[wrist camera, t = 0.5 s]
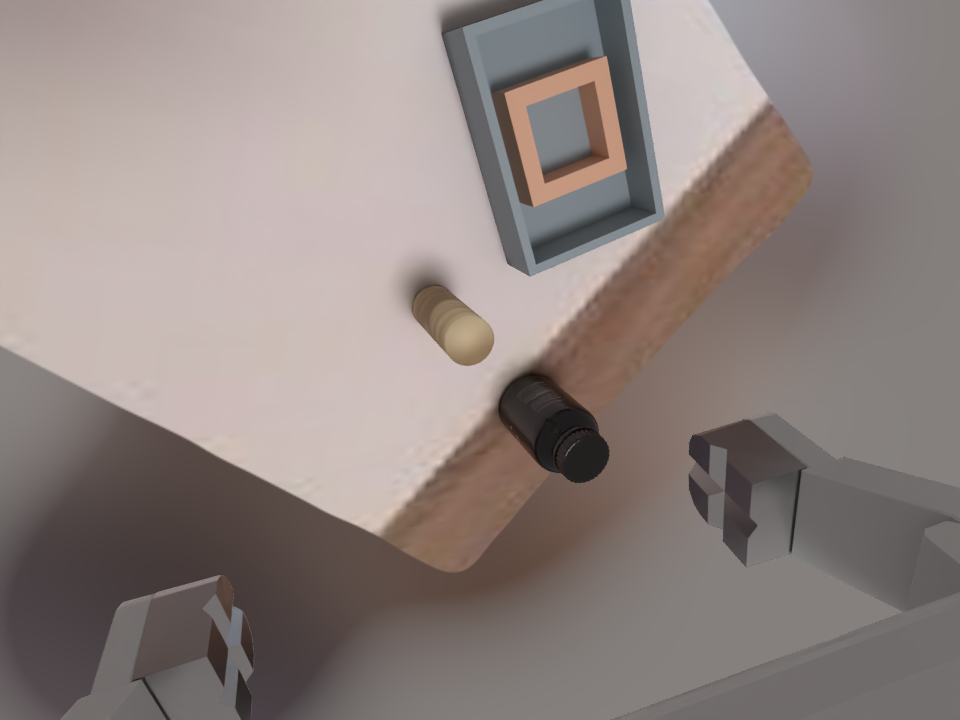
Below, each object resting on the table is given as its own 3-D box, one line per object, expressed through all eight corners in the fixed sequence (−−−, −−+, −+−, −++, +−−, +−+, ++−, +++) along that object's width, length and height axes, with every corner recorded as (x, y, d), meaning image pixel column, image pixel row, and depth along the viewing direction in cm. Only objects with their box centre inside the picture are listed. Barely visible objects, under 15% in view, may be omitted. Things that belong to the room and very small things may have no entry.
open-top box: (441, 34, 51) (462, 27, 47) (592, -17, 54) (625, -28, 49) (507, 263, 60) (530, 276, 56) (634, 210, 63) (664, 218, 58)
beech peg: (406, 295, 58) (439, 329, 49) (446, 278, 58) (485, 309, 50) (420, 333, 59) (454, 373, 51) (459, 317, 60) (499, 353, 51)
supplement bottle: (490, 431, 66) (541, 492, 56) (507, 369, 64) (563, 421, 54) (548, 435, 69) (607, 494, 58) (565, 376, 67) (629, 426, 56)
